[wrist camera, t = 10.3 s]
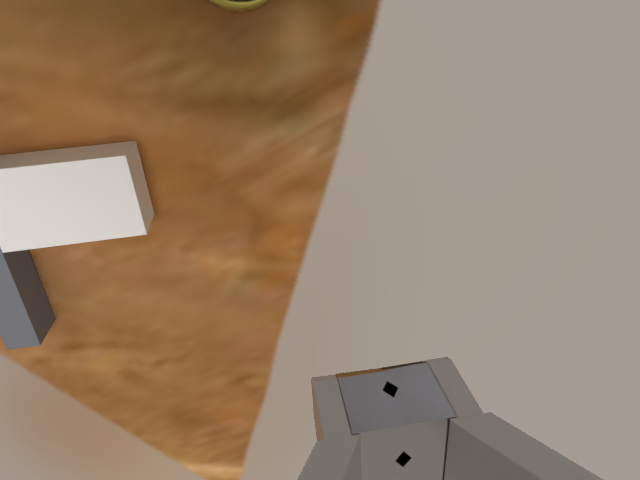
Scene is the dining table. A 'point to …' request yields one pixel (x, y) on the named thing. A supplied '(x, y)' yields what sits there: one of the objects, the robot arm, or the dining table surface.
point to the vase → (238, 5)
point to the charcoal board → (22, 302)
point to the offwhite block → (72, 196)
